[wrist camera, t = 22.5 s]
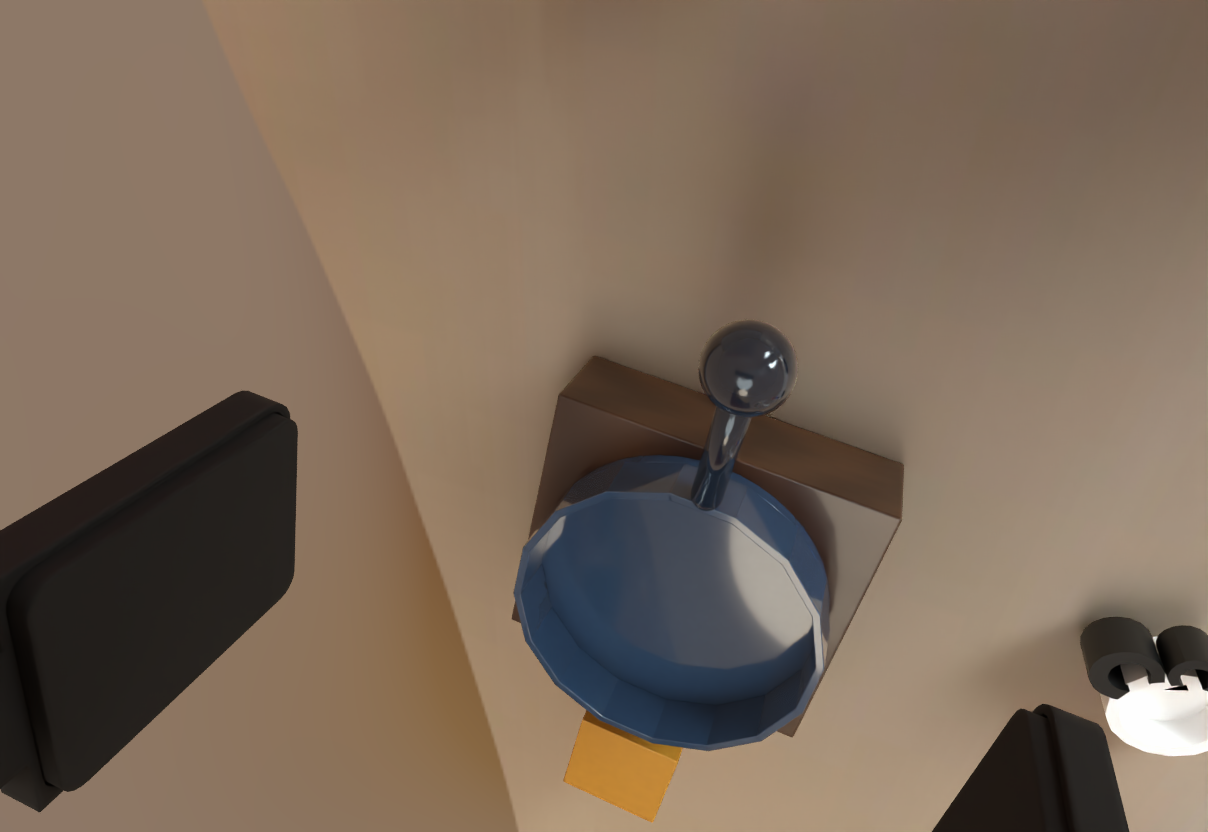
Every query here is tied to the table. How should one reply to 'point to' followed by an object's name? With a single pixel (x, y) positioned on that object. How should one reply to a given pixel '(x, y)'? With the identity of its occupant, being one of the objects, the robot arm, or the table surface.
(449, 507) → the table surface
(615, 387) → the stand
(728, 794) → the table surface
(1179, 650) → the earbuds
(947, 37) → the table surface
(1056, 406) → the table surface
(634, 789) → the cube
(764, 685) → the blue frying pan
